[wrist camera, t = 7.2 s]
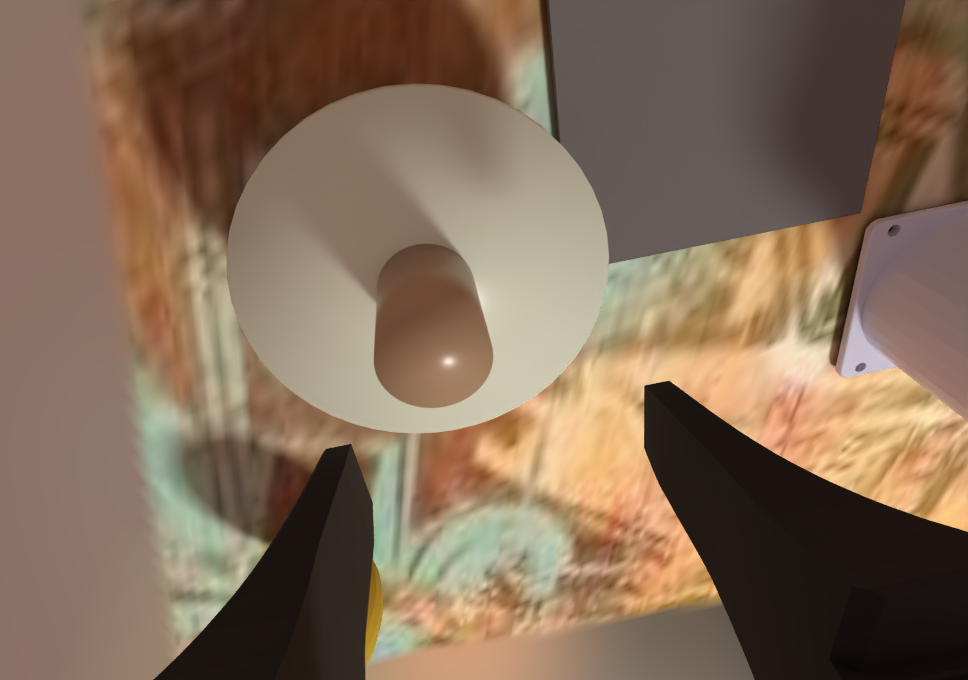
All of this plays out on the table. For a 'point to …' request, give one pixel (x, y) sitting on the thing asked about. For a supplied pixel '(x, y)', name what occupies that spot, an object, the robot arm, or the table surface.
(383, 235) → the lid
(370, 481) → the table surface
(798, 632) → the robot arm
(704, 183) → the mat
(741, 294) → the table surface
